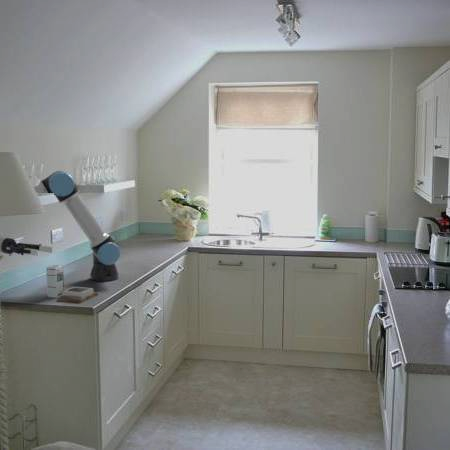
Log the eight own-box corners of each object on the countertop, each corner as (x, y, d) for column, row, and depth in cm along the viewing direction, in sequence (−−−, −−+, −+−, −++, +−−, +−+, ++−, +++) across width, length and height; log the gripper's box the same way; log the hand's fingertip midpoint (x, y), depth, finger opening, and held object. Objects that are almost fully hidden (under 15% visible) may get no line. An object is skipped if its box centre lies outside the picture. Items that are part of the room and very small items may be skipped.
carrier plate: (75, 293, 310) (75, 290, 310) (97, 295, 306) (97, 292, 306) (57, 300, 295) (57, 297, 295) (80, 302, 291) (80, 299, 291)
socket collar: (74, 291, 307) (73, 286, 307) (93, 293, 304) (93, 288, 303) (62, 296, 297) (62, 291, 297) (81, 298, 294) (81, 292, 294)
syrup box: (57, 298, 300) (56, 267, 299) (46, 296, 303) (46, 266, 301) (64, 295, 306) (63, 265, 304) (54, 294, 308) (53, 264, 306)
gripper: (18, 250, 321) (56, 256, 317) (-11, 255, 297) (30, 262, 292) (19, 235, 321) (58, 241, 316) (-10, 239, 296) (31, 245, 292)
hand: (44, 251), depth 304 cm, fingers open, 13 cm apart
